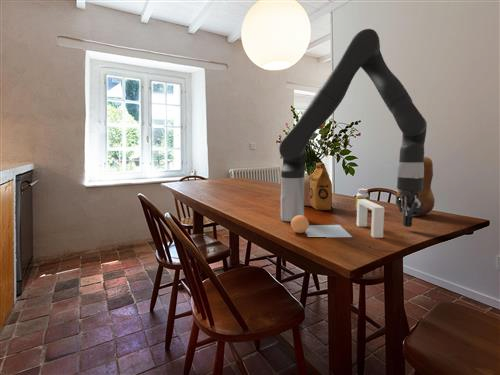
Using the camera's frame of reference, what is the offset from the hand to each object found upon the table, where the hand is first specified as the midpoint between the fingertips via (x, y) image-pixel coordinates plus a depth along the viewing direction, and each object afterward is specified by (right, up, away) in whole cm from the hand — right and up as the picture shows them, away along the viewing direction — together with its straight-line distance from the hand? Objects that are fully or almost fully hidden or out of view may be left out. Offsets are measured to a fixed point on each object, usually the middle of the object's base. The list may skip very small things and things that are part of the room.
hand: (407, 226), depth 94 cm
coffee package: (-20, +3, +40) cm, 44 cm away
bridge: (-13, -2, +1) cm, 13 cm away
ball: (-37, +1, 0) cm, 37 cm away
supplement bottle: (-2, +3, +33) cm, 33 cm away
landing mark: (-28, -2, +1) cm, 28 cm away
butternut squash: (+16, +1, +23) cm, 28 cm away
